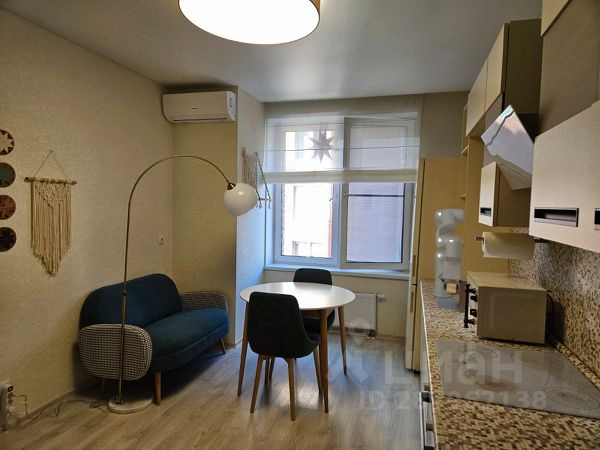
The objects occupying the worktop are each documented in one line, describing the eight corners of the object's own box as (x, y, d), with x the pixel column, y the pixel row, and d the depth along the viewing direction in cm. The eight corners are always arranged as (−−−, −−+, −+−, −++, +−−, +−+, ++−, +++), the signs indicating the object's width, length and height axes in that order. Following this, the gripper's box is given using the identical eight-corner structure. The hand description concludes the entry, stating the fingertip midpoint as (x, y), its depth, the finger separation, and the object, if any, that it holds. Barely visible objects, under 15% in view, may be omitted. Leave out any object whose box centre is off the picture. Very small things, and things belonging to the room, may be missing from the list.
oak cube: (445, 290, 217) (446, 281, 217) (455, 290, 216) (455, 282, 215) (446, 292, 213) (446, 283, 212) (455, 293, 211) (456, 284, 211)
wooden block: (474, 311, 220) (476, 281, 219) (476, 313, 215) (477, 283, 214) (458, 310, 222) (459, 280, 221) (459, 312, 218) (460, 282, 217)
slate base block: (436, 303, 237) (437, 297, 237) (457, 305, 234) (457, 299, 234) (438, 308, 226) (438, 302, 226) (459, 310, 222) (459, 304, 222)
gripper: (467, 259, 214) (465, 290, 215) (436, 257, 219) (434, 287, 220) (469, 261, 207) (467, 293, 208) (436, 259, 212) (435, 290, 213)
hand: (450, 290), depth 214 cm, fingers closed on oak cube, 5 cm apart
